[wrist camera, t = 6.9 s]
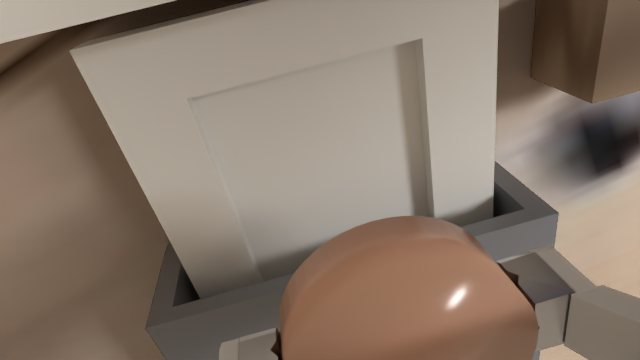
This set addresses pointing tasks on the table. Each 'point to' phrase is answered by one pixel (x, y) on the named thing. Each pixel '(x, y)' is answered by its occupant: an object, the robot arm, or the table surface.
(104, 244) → the table surface
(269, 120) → the tray
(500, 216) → the box
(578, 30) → the pedestal
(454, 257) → the peach round puck
